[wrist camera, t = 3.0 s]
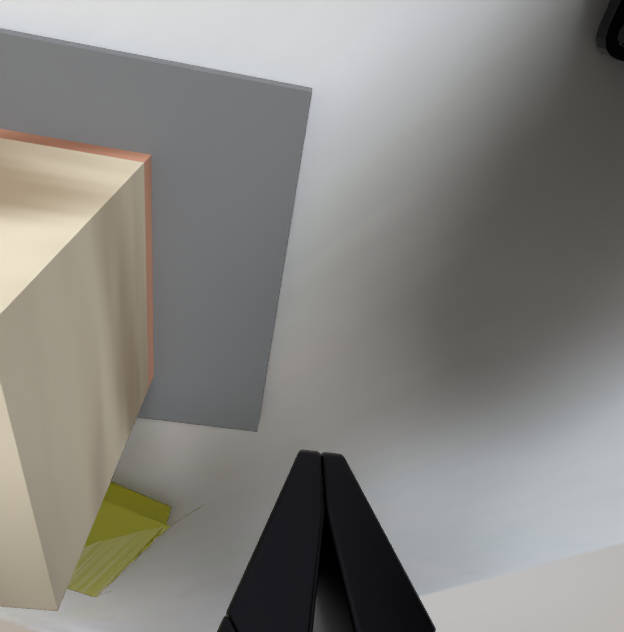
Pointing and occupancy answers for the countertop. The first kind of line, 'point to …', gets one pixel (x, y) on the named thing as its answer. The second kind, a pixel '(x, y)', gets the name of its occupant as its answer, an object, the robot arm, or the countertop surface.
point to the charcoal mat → (184, 202)
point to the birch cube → (67, 347)
